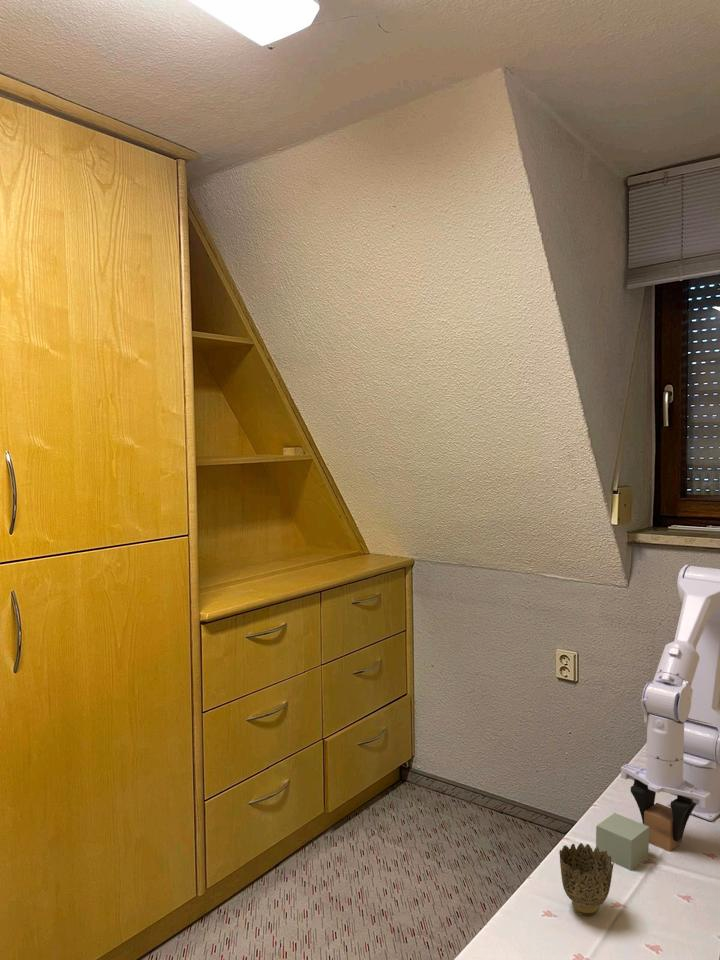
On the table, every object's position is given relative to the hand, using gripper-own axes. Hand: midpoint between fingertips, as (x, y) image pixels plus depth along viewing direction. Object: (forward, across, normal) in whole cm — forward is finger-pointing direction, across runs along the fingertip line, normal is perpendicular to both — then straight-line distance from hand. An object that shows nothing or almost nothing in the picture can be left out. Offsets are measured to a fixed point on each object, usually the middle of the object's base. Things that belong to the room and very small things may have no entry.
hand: (662, 832), depth 125 cm
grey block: (+2, -2, -9) cm, 9 cm away
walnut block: (+1, 0, 0) cm, 1 cm away
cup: (+2, +1, -26) cm, 26 cm away
